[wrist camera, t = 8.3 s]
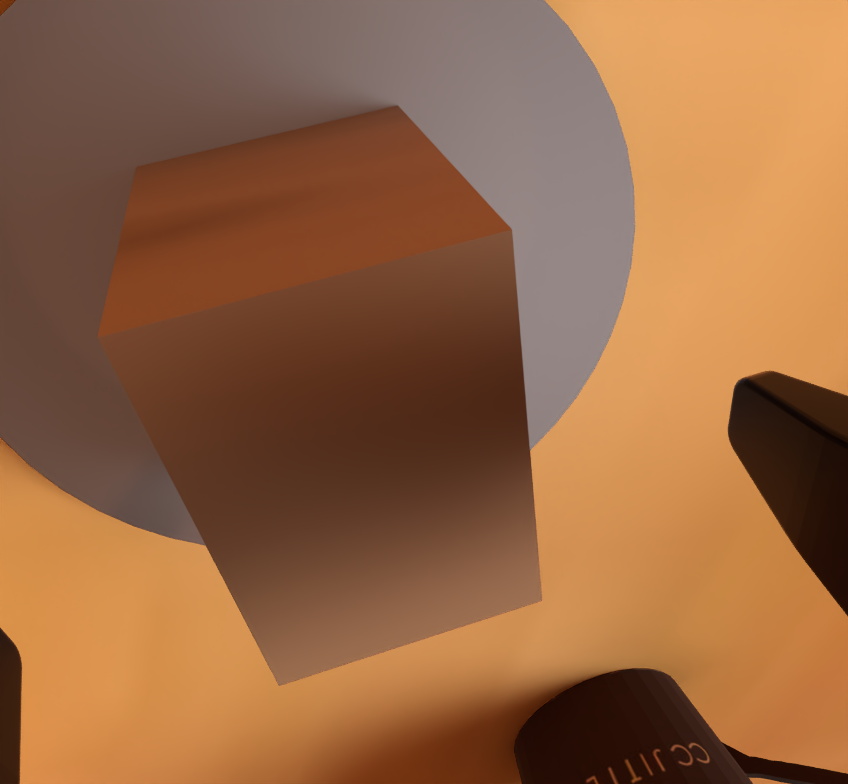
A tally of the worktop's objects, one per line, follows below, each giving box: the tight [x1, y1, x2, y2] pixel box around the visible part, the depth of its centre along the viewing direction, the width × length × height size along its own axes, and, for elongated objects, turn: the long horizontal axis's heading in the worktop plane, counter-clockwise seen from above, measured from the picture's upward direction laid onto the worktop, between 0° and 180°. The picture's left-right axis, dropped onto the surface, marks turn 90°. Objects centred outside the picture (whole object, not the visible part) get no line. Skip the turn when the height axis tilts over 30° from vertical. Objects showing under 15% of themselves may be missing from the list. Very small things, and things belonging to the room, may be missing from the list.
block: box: [97, 105, 542, 686], centre depth 10 cm, size 6×4×5 cm, turn 8°
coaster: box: [0, 0, 635, 545], centre depth 13 cm, size 12×12×1 cm
